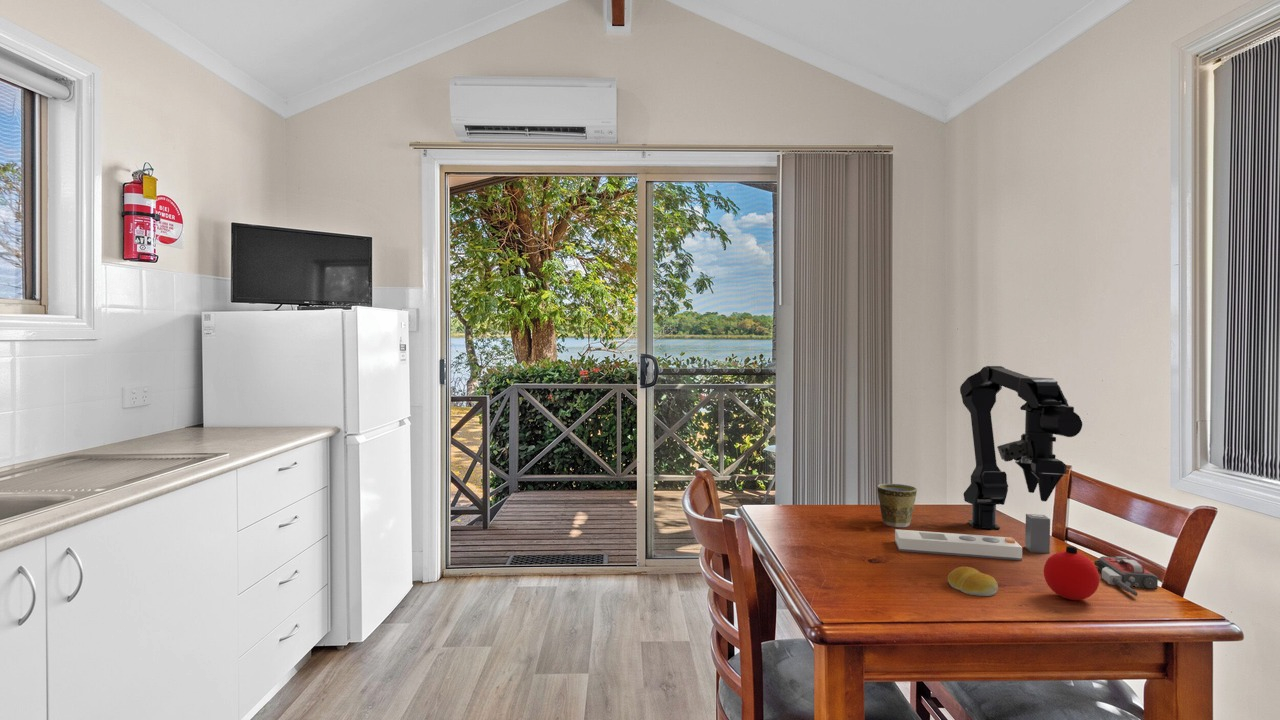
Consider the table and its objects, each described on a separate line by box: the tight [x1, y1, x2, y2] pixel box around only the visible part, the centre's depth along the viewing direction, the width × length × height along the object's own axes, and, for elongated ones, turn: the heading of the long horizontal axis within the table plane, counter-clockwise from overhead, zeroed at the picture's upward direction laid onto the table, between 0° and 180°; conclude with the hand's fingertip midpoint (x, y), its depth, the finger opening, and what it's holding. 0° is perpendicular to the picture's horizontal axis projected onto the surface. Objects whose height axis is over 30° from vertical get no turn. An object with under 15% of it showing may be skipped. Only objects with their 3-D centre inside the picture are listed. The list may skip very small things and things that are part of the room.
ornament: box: [1043, 545, 1101, 601], centre depth 128 cm, size 9×9×10 cm
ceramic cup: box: [876, 483, 918, 528], centre depth 183 cm, size 13×10×10 cm
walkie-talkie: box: [1093, 556, 1159, 597], centre depth 137 cm, size 9×4×20 cm
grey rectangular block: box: [1024, 513, 1051, 554], centre depth 159 cm, size 4×4×8 cm
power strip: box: [894, 528, 1023, 561], centre depth 158 cm, size 8×26×4 cm, turn 76°
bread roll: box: [947, 566, 999, 597], centre depth 133 cm, size 8×9×4 cm
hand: (1037, 496), depth 159 cm, fingers open, 9 cm apart
